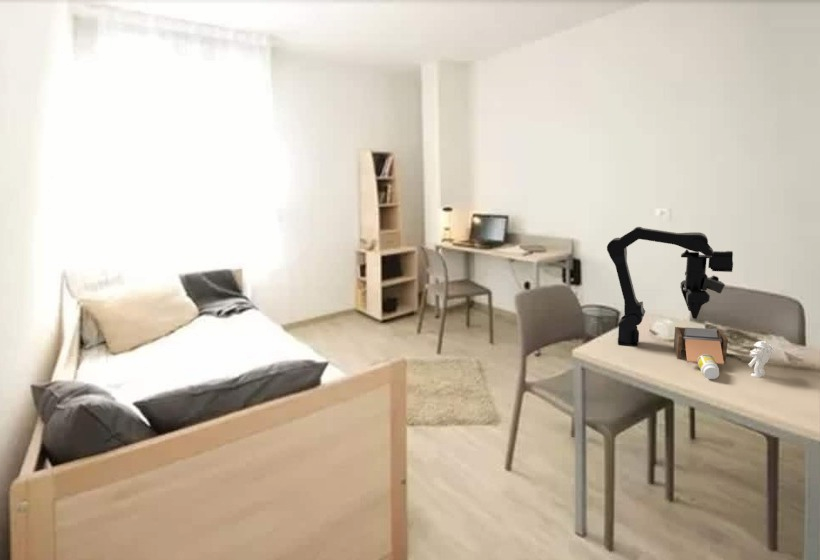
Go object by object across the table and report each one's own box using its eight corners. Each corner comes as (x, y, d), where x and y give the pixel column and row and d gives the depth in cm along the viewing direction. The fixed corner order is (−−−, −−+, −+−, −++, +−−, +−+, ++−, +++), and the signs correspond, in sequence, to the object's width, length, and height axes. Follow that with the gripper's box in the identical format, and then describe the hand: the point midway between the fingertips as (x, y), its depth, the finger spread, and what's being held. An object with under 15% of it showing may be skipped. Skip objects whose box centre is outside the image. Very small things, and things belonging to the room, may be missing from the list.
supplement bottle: (703, 370, 155) (708, 383, 148) (693, 358, 155) (699, 371, 147) (717, 362, 153) (724, 375, 145) (708, 351, 153) (714, 363, 145)
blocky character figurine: (756, 381, 145) (761, 343, 142) (743, 376, 148) (746, 339, 145) (773, 374, 149) (778, 336, 146) (760, 369, 152) (764, 333, 149)
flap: (684, 367, 159) (685, 360, 156) (680, 334, 168) (682, 327, 165) (723, 370, 155) (725, 363, 152) (717, 337, 164) (720, 329, 161)
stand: (677, 358, 164) (678, 336, 162) (673, 348, 173) (675, 326, 171) (725, 362, 159) (727, 339, 157) (719, 351, 168) (721, 329, 166)
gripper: (730, 277, 153) (725, 324, 156) (717, 265, 170) (714, 308, 173) (689, 276, 157) (686, 322, 160) (681, 264, 174) (678, 306, 177)
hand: (692, 314), depth 168 cm, fingers open, 9 cm apart
